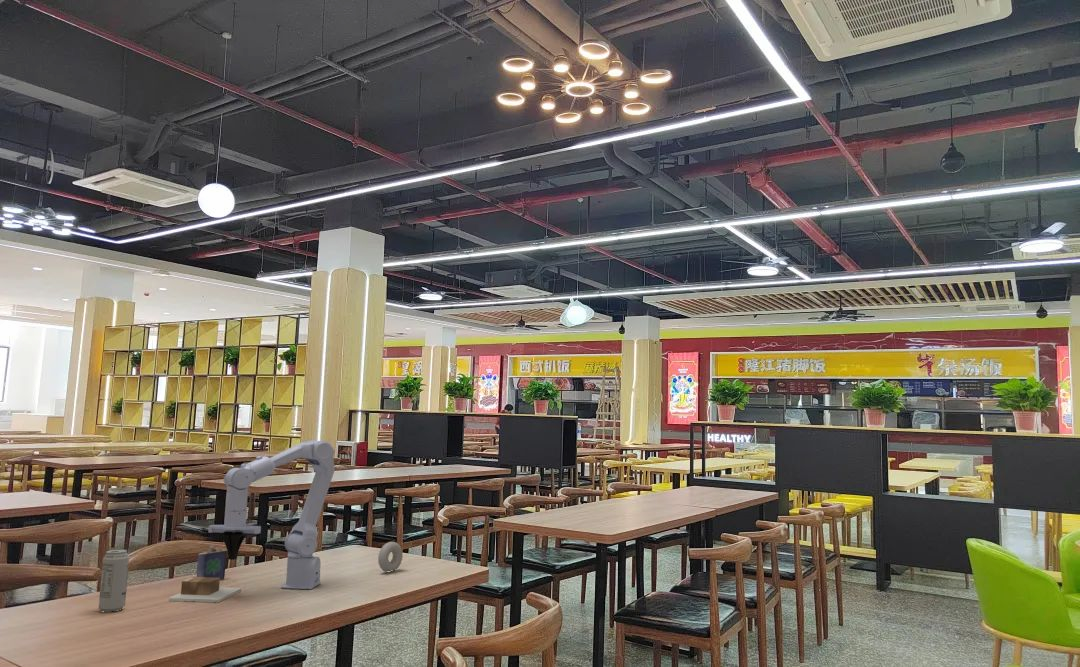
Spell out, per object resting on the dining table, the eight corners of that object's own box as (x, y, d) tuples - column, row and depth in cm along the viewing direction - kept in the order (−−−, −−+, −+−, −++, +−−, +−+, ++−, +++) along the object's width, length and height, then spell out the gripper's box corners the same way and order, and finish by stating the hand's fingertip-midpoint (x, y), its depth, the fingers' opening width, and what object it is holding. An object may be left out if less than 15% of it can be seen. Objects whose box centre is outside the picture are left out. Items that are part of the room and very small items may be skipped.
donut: (396, 569, 248) (398, 539, 249) (404, 570, 246) (405, 540, 248) (375, 574, 240) (376, 543, 241) (382, 575, 238) (383, 544, 239)
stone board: (241, 590, 213) (241, 587, 213) (218, 602, 199) (218, 599, 200) (194, 589, 214) (195, 586, 214) (168, 600, 200) (168, 597, 200)
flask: (198, 584, 220) (201, 548, 222) (193, 583, 222) (196, 547, 223) (226, 579, 228) (228, 544, 229) (221, 578, 230) (223, 543, 231)
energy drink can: (127, 610, 190) (132, 551, 191) (101, 614, 185) (107, 554, 187) (121, 606, 194) (126, 548, 196) (95, 609, 190) (100, 550, 192)
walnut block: (219, 577, 210) (193, 576, 211) (209, 582, 204) (181, 581, 205) (219, 590, 210) (192, 589, 210) (208, 595, 204) (180, 594, 204)
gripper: (204, 511, 206) (200, 560, 204) (254, 512, 205) (251, 562, 203) (216, 508, 213) (213, 556, 211) (265, 509, 212) (262, 557, 210)
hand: (232, 558), depth 208 cm, fingers closed
